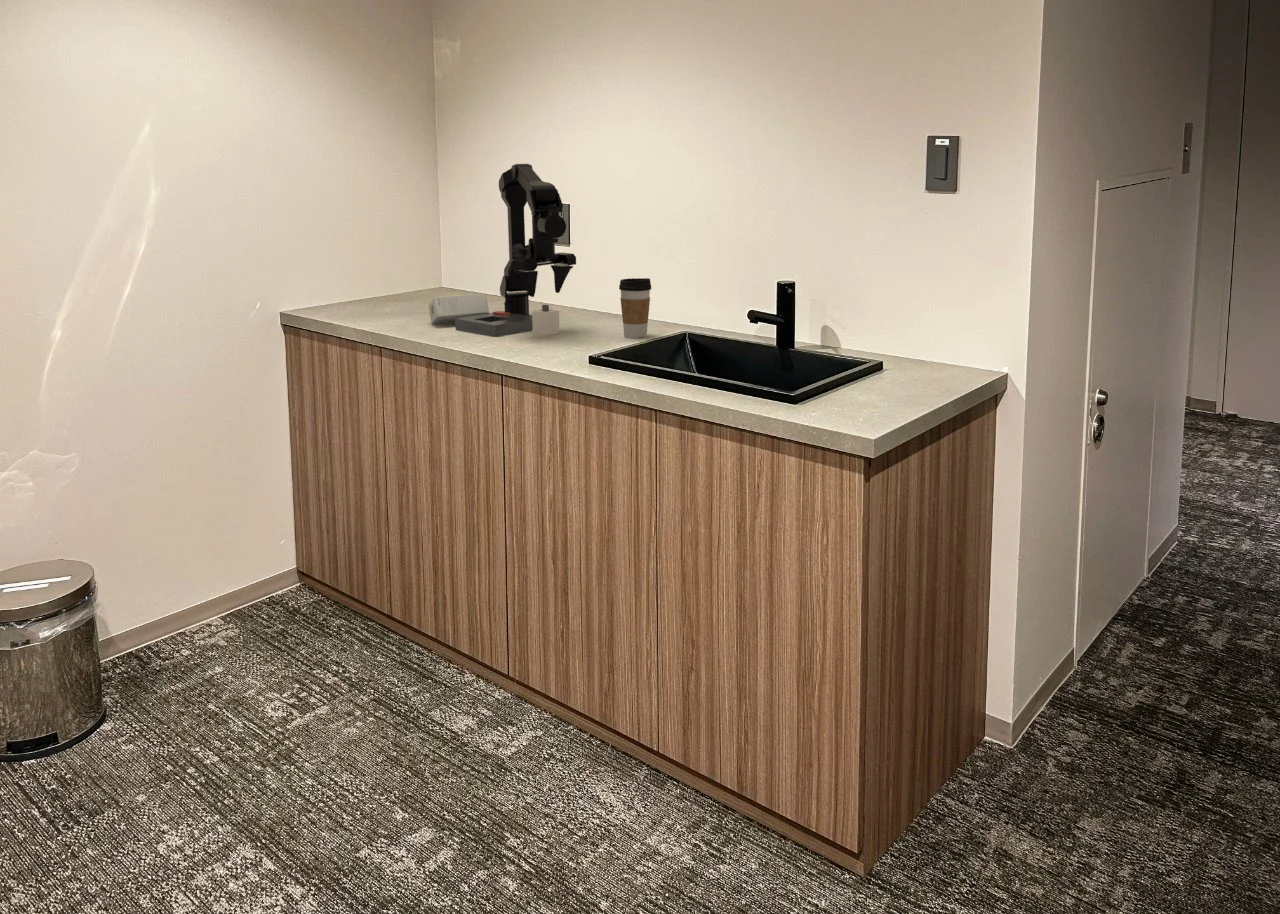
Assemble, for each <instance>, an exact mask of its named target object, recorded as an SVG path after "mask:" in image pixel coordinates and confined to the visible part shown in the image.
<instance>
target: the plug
mask: <svg viewBox="0 0 1280 914" xmlns="http://www.w3.org/2000/svg"><path fill="white" fill-rule="evenodd" d="M531 315H532V325H533V330H532V334H535V335H540V336H550V335H556V334H560V310H558V309H550V304H541V309H537V310H531Z"/></svg>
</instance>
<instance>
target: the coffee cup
mask: <svg viewBox="0 0 1280 914" xmlns="http://www.w3.org/2000/svg"><path fill="white" fill-rule="evenodd" d="M618 289H619V290H620V298H619V299H620V308H621V317H622V328H623V336H624V337H625V338H627V337H628V339H639V338H638V337H644V338H646V337H647V335H648V322H649V313H650V305H651V303H650V302H651V297H650V293H651V290H652V284H651V278H649V277H647V278H642V277H641V278H640V277H639V278H623V279H620V282H619V286H618ZM645 336H646V337H645Z"/></svg>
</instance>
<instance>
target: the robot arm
mask: <svg viewBox="0 0 1280 914" xmlns="http://www.w3.org/2000/svg"><path fill="white" fill-rule="evenodd" d="M498 190H499V192H500V198H501V199H502V201H503V203H504V204H505V206H506V208H507V230H508V231H507V232H508V258H509V260H508V262H507V263H506V265H505V267H504V268H503V276H502V279H501V281H500V285H499V294H500V296H501V297H503V298H504V312H509V313H513V314H520V315H526V316H532V314H530V305H529V304H530V303H529V302H530V300H529V299H530V298H534V297H535V294H536V289H537V281H538V274H539V271H538V270H537V268H538V267H541V266H547V265H550V267H551V268H550V269H552V271H553V279H554V281H553V282H554V291H555V293H557V294H560V292H561V290H562V287H563V285H564V284H565V280H566V278H567V276H568V275H569V273H570V271H571V269H573V268H574V265H577V256H576V255H575V253H569V252H556V249H555V248H556V247H555V246H556V243H559V238H560V237H562V236H563V235H564V234H565V233H566V229H567V224H566V221H565V219H564V217H562V216H560V215H559V213H563V207H564V205H563V201H562V198H561V195H560V193H559V190H558V189H557V187H556V186H555V185H554V184H553V183H551V182H547V181H544V180H542V179H541V178H540V176H539V175H538V174H537V173H536V172H535V170H534V169H533V165H532V164H530V163H515V164H512V166H511V167H510V169H507V170H506V171H504V172H503V173H501V175H500V177H499V179H498ZM526 204H528V207H529V210H530V212H531V214H530V215H531V226H532V228H531V233H532V237H531V238H530V237H529V238H528V244H527V245H526V231H525V230H526V228H525V227H526V226H525V225H526V224H525V206H526Z"/></svg>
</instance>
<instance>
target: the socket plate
mask: <svg viewBox="0 0 1280 914" xmlns="http://www.w3.org/2000/svg"><path fill="white" fill-rule="evenodd" d="M454 323H455V324H454V326H455V327H454V328H455V330H456V331H460V332H465V333H471V334H472V333H473V334H478V335H483V336H489V337H490V336H491V337H495V338H496V337H502V336H507V335H513V334H518V333H522V332H523V333H524V332H528V331H533V325H532V316H526V315H520V314H513V313H509V312H505V310H504V311H503V310H496V311H492V312H489V313H487V314H481V315H475V316H468V317H462V318H456V319H455V322H454Z"/></svg>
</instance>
